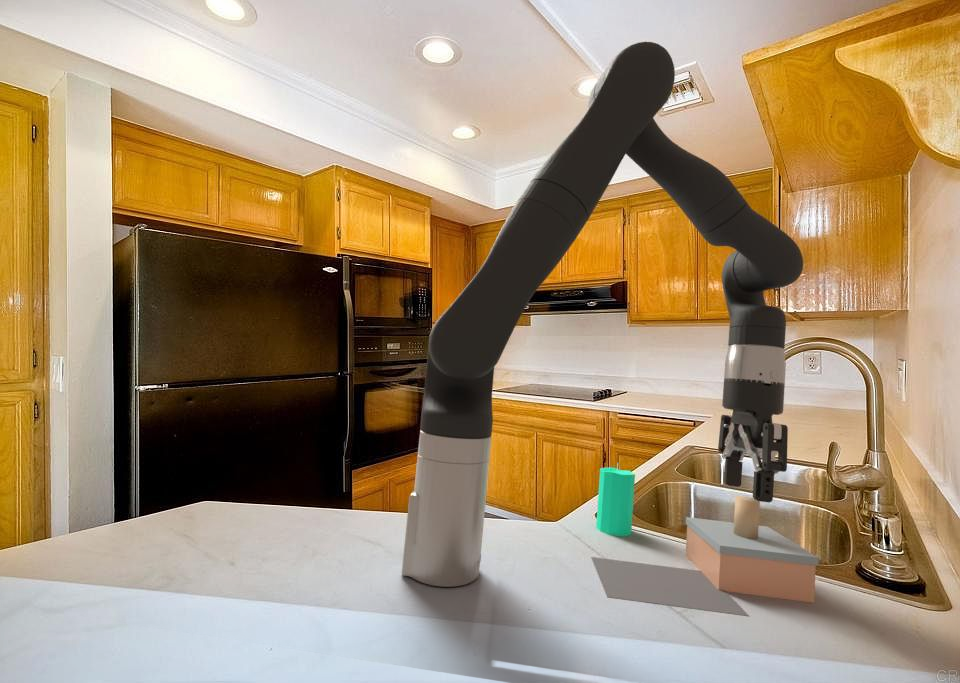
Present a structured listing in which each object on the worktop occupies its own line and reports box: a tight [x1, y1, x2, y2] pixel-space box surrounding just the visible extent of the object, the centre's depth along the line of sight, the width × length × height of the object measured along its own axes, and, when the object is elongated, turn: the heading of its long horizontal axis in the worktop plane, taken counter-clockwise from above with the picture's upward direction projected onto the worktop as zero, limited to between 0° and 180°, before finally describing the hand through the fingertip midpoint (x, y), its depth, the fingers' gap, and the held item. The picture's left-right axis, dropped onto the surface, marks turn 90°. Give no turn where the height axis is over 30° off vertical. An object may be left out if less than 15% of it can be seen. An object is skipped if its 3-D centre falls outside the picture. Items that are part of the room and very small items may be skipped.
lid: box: [685, 495, 820, 566], centre depth 64 cm, size 12×12×6 cm
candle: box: [595, 463, 636, 537], centre depth 79 cm, size 6×6×12 cm
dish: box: [685, 524, 817, 604], centre depth 64 cm, size 12×12×5 cm
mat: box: [591, 556, 750, 617], centre depth 59 cm, size 16×12×1 cm
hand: (746, 492), depth 64 cm, fingers open, 8 cm apart
